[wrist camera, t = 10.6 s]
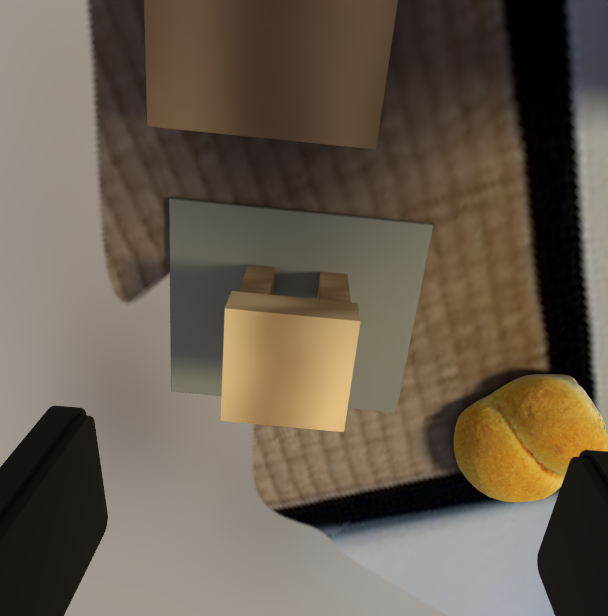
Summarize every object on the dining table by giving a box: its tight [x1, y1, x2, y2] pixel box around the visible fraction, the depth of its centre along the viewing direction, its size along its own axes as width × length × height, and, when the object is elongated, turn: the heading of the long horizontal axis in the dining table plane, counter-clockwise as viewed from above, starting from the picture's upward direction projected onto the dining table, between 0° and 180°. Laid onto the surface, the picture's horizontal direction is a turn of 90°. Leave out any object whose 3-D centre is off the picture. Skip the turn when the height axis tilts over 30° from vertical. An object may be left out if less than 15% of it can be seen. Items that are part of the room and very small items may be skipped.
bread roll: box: [454, 374, 608, 502], centre depth 32 cm, size 8×9×4 cm
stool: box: [221, 265, 361, 432], centre depth 28 cm, size 6×6×6 cm
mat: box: [169, 197, 433, 413], centre depth 31 cm, size 14×12×1 cm
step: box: [144, 0, 398, 149], centre depth 23 cm, size 10×10×4 cm
